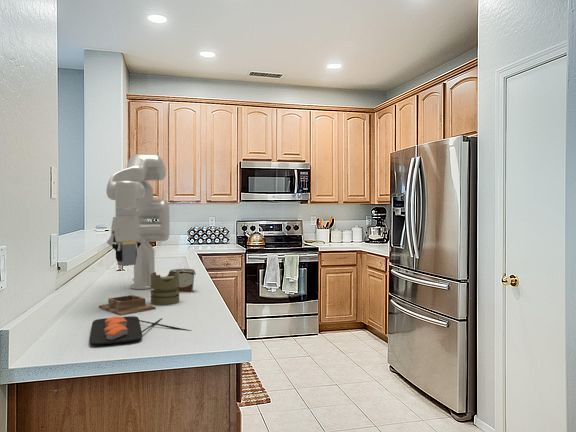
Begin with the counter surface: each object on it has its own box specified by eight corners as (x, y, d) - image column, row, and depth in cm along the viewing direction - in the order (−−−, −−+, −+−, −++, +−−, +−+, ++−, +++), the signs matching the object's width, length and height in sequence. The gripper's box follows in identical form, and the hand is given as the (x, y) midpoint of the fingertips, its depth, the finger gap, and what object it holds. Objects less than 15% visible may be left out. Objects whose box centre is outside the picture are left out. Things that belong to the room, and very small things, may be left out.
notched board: (98, 307, 176) (98, 297, 176) (132, 302, 186) (132, 292, 186) (120, 315, 164) (120, 304, 164) (155, 308, 174) (155, 299, 174)
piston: (182, 274, 183) (153, 276, 178) (182, 303, 183) (153, 306, 178) (175, 270, 193) (148, 272, 188) (175, 298, 193) (148, 301, 188)
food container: (199, 290, 212) (199, 268, 212) (195, 292, 206) (195, 270, 206) (173, 289, 214) (173, 268, 213) (169, 292, 207) (168, 270, 207)
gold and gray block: (117, 264, 174) (117, 241, 174) (129, 263, 178) (129, 240, 178) (123, 265, 171) (123, 241, 171) (135, 264, 174) (135, 241, 174)
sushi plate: (93, 324, 153) (92, 313, 153) (183, 317, 164) (183, 306, 164) (88, 350, 126) (88, 337, 126) (197, 339, 137) (196, 326, 137)
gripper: (141, 212, 183) (142, 257, 183) (99, 213, 170) (100, 261, 171) (151, 212, 177) (151, 259, 178) (108, 213, 165) (109, 263, 166)
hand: (126, 259), depth 174 cm, fingers closed on gold and gray block, 5 cm apart
